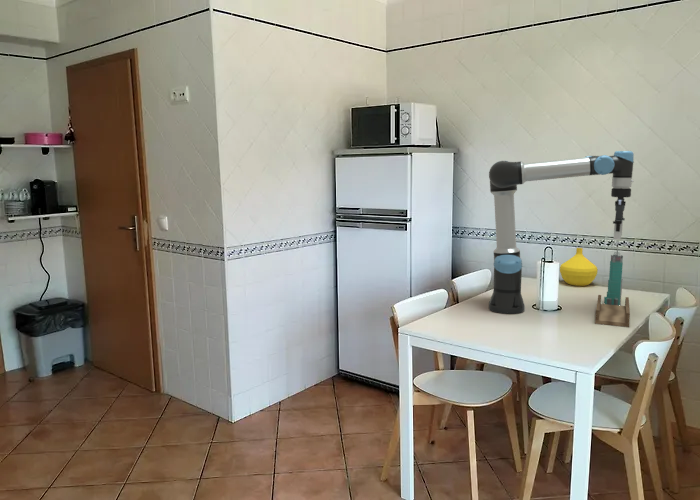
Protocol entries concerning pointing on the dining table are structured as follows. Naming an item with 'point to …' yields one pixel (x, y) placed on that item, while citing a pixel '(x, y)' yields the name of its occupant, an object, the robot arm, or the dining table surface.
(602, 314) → the tray
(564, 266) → the vase
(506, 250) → the robot arm
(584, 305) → the dining table surface
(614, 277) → the building
